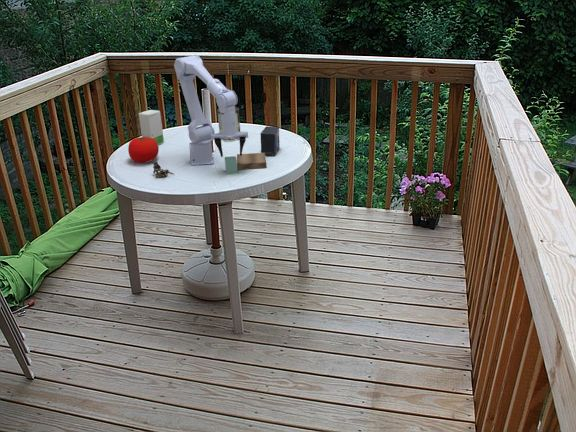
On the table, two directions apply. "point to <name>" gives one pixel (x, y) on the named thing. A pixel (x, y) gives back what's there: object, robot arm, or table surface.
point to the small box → (270, 141)
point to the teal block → (231, 165)
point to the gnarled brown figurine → (162, 172)
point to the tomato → (143, 149)
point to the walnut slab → (251, 161)
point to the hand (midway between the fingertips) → (231, 155)
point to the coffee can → (236, 124)
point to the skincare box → (151, 125)
